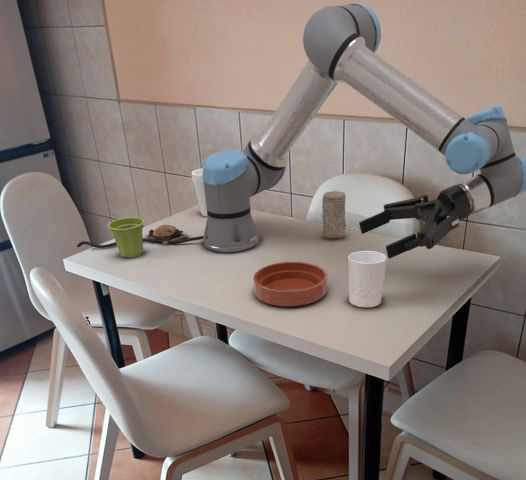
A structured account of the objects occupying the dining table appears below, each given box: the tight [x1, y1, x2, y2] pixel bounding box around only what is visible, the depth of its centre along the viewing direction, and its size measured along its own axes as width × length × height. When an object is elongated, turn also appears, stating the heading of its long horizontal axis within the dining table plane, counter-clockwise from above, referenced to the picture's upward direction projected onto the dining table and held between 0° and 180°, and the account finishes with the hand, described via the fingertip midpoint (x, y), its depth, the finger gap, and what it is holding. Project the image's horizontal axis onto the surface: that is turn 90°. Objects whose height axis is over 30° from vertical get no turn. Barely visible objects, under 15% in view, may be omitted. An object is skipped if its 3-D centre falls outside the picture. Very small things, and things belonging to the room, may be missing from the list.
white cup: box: [347, 250, 388, 308], centre depth 120 cm, size 8×8×10 cm
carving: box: [321, 190, 347, 239], centre depth 154 cm, size 6×8×12 cm
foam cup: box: [191, 167, 207, 217], centre depth 178 cm, size 10×9×13 cm
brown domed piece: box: [146, 224, 188, 246], centre depth 163 cm, size 11×8×4 cm
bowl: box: [252, 261, 328, 307], centre depth 128 cm, size 16×16×4 cm
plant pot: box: [107, 216, 145, 259], centre depth 152 cm, size 9×9×9 cm
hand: (373, 239), depth 123 cm, fingers open, 13 cm apart
